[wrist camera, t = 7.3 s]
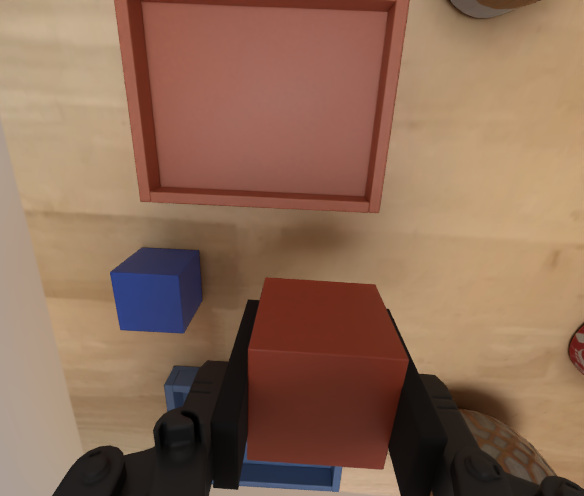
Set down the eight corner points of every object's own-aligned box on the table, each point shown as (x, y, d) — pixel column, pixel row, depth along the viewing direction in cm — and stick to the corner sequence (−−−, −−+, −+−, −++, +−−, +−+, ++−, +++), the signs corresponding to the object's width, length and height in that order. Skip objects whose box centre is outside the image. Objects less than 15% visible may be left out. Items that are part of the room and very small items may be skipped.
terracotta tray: (155, 194, 26) (140, 201, 24) (131, -10, 21) (109, -27, 19) (372, 205, 26) (379, 213, 24) (399, 0, 21) (412, -16, 19)
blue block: (148, 297, 30) (120, 330, 25) (141, 247, 28) (109, 272, 23) (202, 300, 30) (184, 333, 25) (199, 250, 28) (178, 275, 23)
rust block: (262, 364, 16) (246, 461, 12) (265, 276, 15) (247, 348, 10) (360, 371, 16) (383, 470, 12) (375, 283, 15) (410, 360, 10)
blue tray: (184, 459, 37) (176, 482, 35) (174, 365, 33) (163, 385, 30) (336, 468, 37) (338, 492, 35) (349, 375, 32) (352, 395, 30)
